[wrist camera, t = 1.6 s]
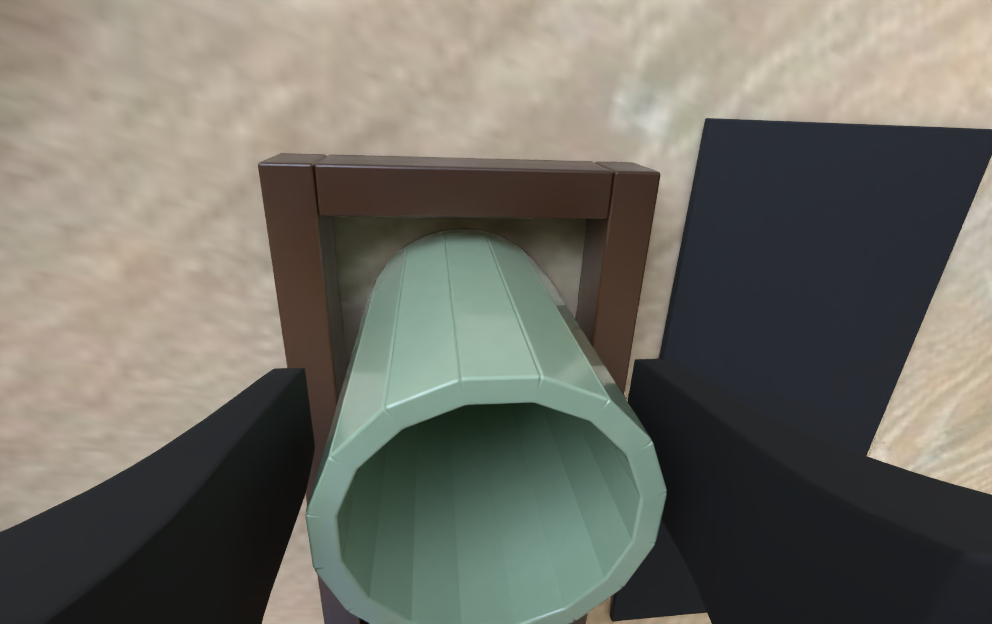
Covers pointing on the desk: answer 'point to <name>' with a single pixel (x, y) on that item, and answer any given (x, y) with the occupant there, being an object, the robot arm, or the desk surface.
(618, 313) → the holder
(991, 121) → the desk surface
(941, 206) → the desk mat
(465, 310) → the cup
